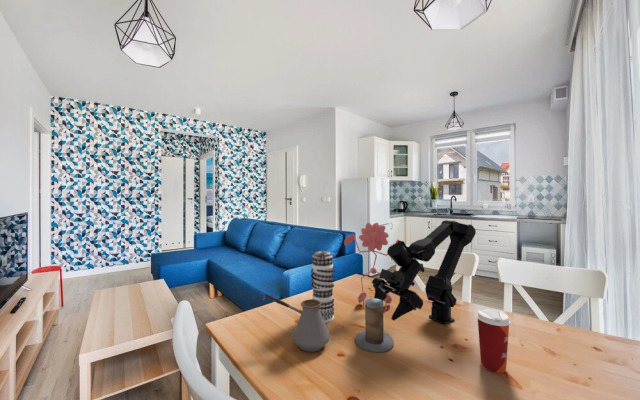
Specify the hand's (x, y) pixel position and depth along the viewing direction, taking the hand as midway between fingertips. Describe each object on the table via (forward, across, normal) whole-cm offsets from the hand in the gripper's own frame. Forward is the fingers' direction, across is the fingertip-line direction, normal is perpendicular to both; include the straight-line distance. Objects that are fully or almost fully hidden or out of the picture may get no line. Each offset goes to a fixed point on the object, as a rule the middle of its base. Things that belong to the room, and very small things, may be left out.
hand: (382, 314), depth 84 cm
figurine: (-6, -24, +18) cm, 31 cm away
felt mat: (+8, 0, +3) cm, 9 cm away
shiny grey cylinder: (+8, 0, +3) cm, 8 cm away
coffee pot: (+24, -11, -13) cm, 29 cm away
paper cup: (-6, +25, +18) cm, 31 cm away
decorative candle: (+12, -23, -1) cm, 26 cm away
